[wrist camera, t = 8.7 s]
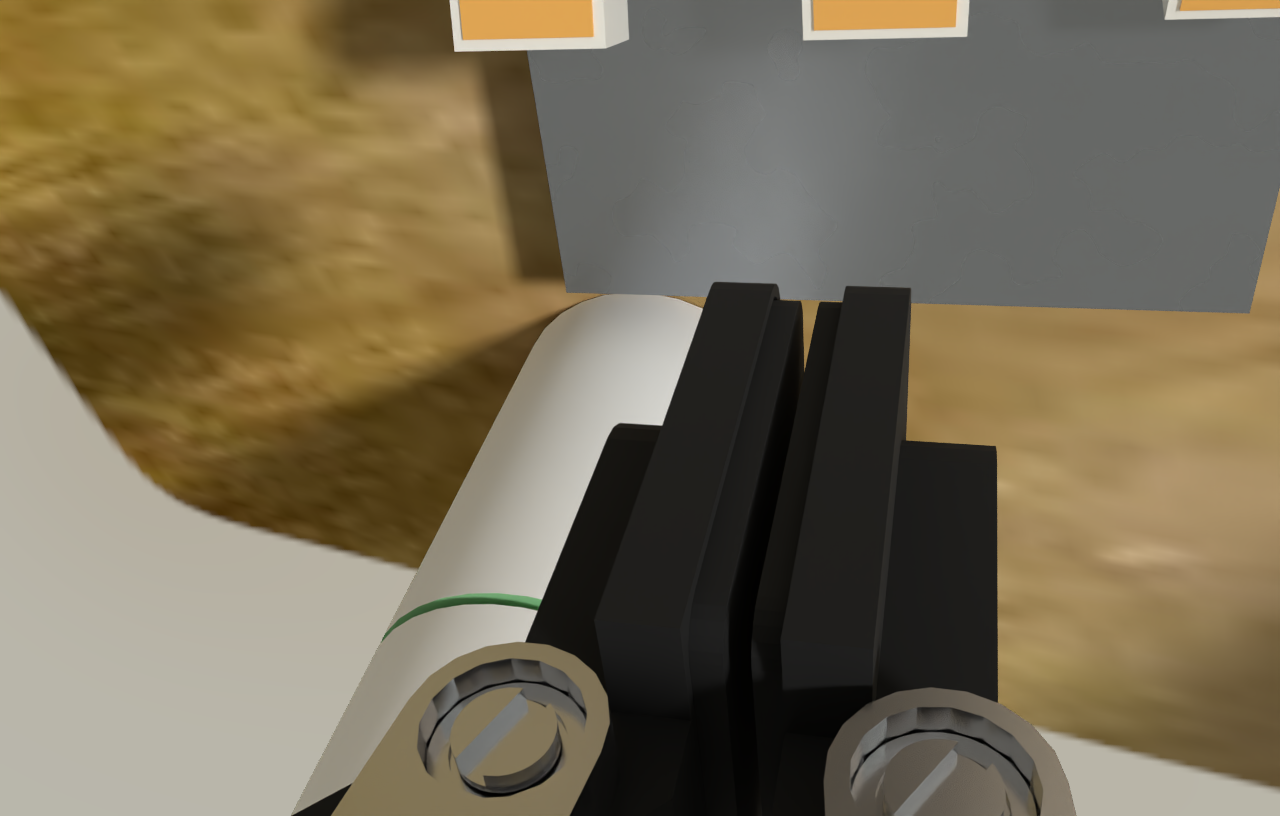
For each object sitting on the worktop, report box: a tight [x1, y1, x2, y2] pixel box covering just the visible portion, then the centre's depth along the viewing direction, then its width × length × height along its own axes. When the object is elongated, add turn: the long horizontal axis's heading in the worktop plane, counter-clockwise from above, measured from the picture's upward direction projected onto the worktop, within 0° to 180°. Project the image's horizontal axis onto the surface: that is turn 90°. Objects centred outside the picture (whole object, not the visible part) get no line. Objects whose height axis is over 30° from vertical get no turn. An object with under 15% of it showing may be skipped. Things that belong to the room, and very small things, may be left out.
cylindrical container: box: [291, 294, 703, 816], centre depth 23 cm, size 7×7×25 cm
